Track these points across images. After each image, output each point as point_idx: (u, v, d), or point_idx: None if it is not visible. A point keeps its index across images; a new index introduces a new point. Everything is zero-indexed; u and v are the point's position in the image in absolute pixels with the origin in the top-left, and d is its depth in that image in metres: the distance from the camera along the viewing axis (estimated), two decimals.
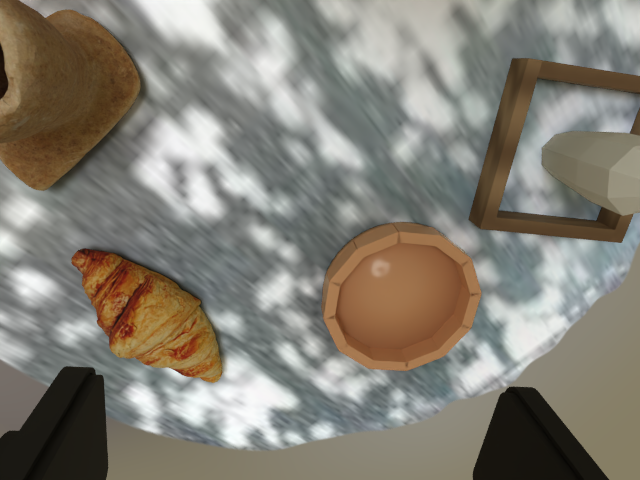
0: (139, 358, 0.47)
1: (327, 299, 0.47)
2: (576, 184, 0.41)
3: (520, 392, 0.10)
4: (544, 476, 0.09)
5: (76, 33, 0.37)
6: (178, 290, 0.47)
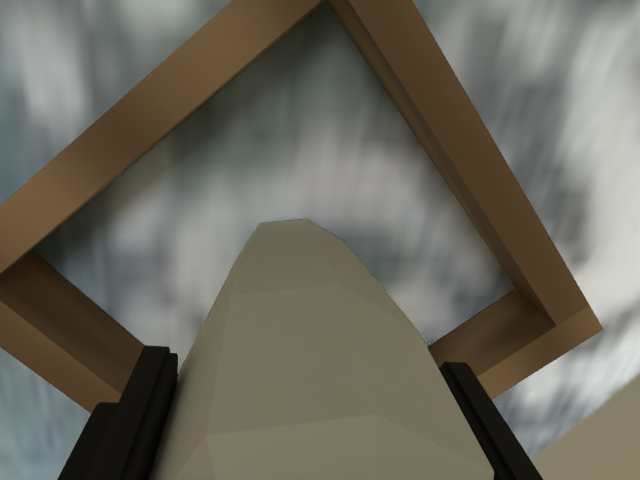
0: None
1: None
2: (182, 369, 0.11)
3: (451, 366, 0.11)
4: None
5: None
6: None
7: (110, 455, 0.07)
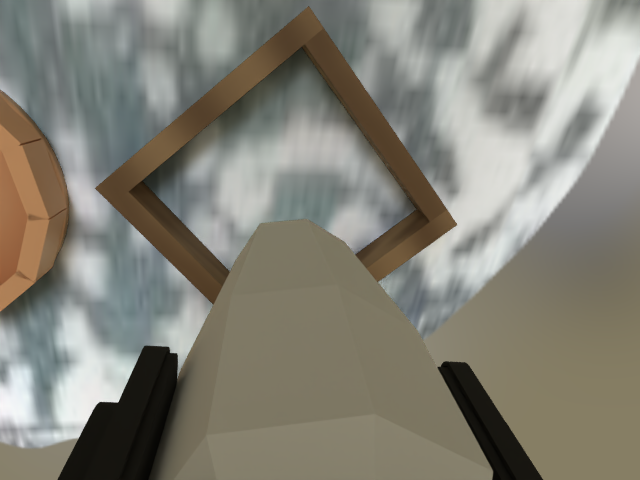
0: None
1: None
2: (182, 369, 0.11)
3: (451, 366, 0.11)
4: None
5: None
6: None
7: (110, 455, 0.07)
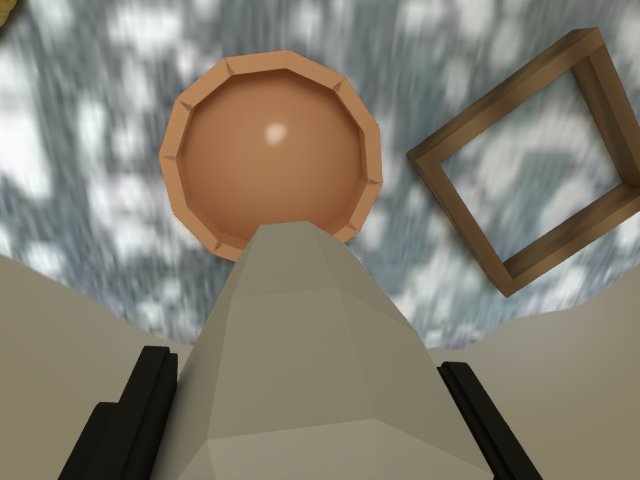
0: None
1: (202, 78, 0.32)
2: (182, 372, 0.11)
3: (451, 366, 0.11)
4: None
5: None
6: None
7: (110, 455, 0.07)
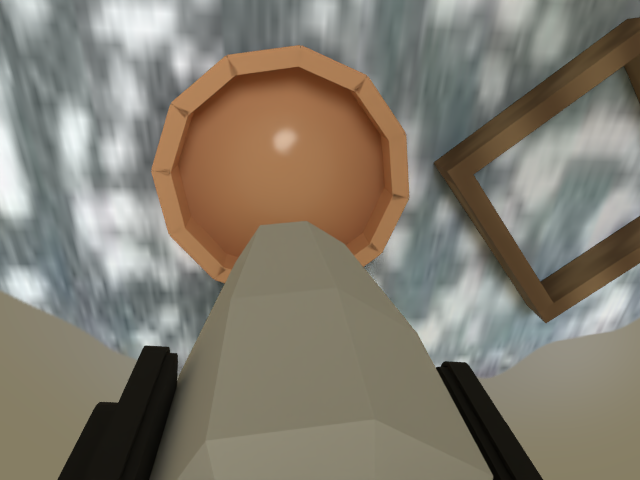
0: None
1: (200, 79, 0.27)
2: (181, 372, 0.11)
3: (451, 366, 0.11)
4: None
5: None
6: None
7: (110, 455, 0.07)
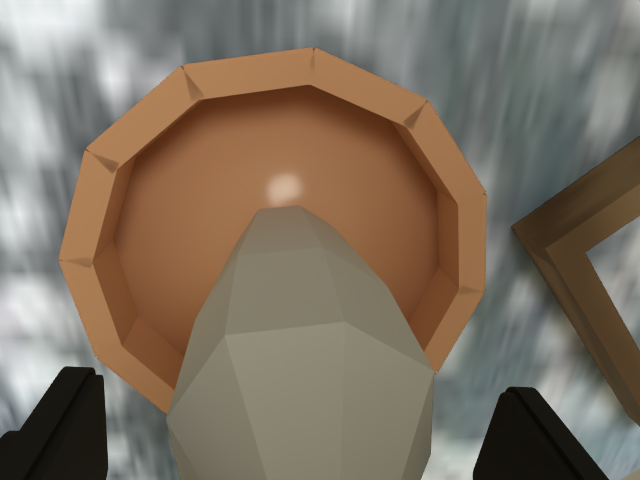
0: None
1: (137, 107, 0.15)
2: (197, 317, 0.13)
3: (520, 392, 0.10)
4: (544, 476, 0.09)
5: None
6: None
7: None
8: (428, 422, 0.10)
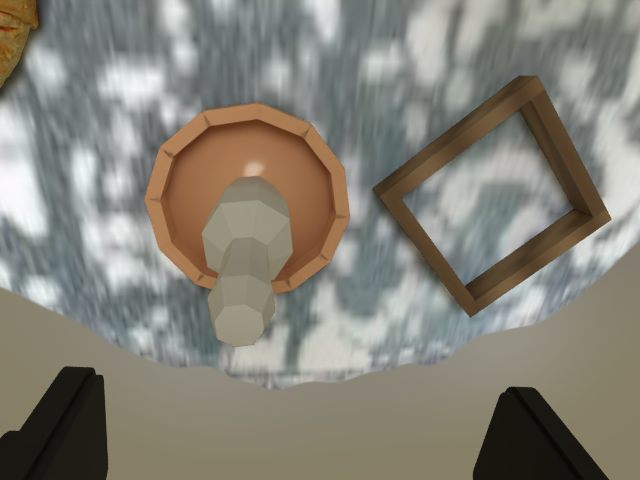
0: None
1: (182, 129, 0.36)
2: None
3: (520, 392, 0.10)
4: (544, 476, 0.09)
5: None
6: None
7: None
8: (288, 236, 0.30)
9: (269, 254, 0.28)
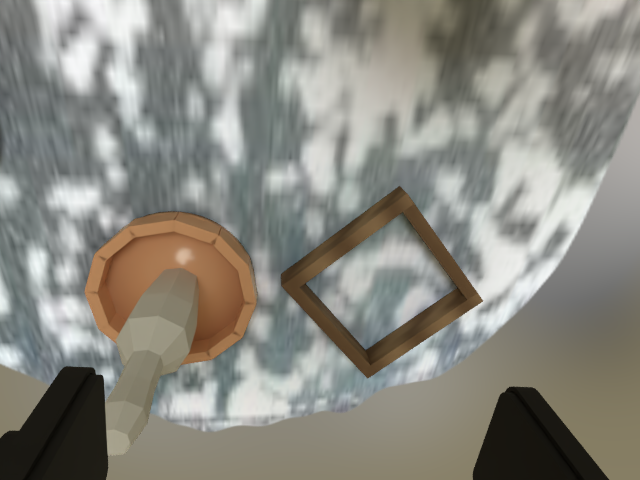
0: None
1: (112, 240, 0.44)
2: (130, 314, 0.42)
3: (520, 392, 0.10)
4: (544, 476, 0.09)
5: None
6: None
7: None
8: (183, 341, 0.39)
9: (163, 361, 0.37)
